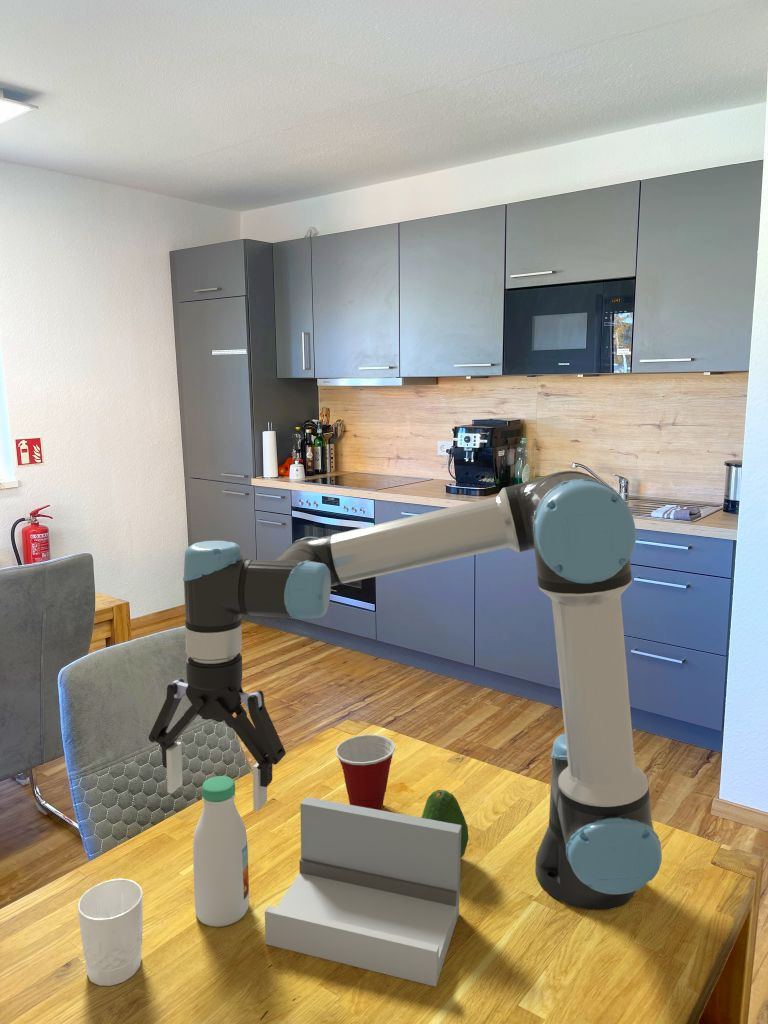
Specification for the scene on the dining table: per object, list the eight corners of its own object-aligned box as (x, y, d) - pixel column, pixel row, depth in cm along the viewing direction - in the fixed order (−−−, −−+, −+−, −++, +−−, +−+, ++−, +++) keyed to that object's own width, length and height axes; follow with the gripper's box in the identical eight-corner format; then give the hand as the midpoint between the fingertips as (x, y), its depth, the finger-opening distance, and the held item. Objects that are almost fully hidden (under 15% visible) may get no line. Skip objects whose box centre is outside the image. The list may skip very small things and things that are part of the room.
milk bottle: (237, 932, 105) (233, 800, 102) (185, 924, 106) (180, 794, 103) (257, 896, 112) (254, 772, 109) (208, 889, 114) (204, 766, 111)
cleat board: (459, 913, 109) (461, 825, 107) (435, 986, 96) (438, 887, 93) (306, 880, 116) (305, 796, 114) (265, 944, 103) (263, 850, 100)
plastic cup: (338, 791, 142) (338, 731, 140) (395, 792, 141) (396, 733, 139) (332, 824, 131) (331, 760, 129) (394, 825, 131) (394, 761, 129)
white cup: (124, 936, 104) (121, 870, 102) (158, 964, 99) (154, 895, 97) (70, 969, 98) (65, 900, 96) (103, 1001, 93) (98, 928, 91)
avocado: (426, 842, 126) (427, 776, 124) (472, 853, 123) (474, 785, 121) (411, 871, 118) (412, 801, 116) (460, 882, 116) (462, 811, 114)
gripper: (309, 656, 103) (308, 799, 106) (152, 635, 110) (156, 769, 114) (285, 675, 96) (286, 828, 99) (119, 651, 103) (125, 794, 107)
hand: (216, 797), depth 106 cm, fingers open, 13 cm apart
